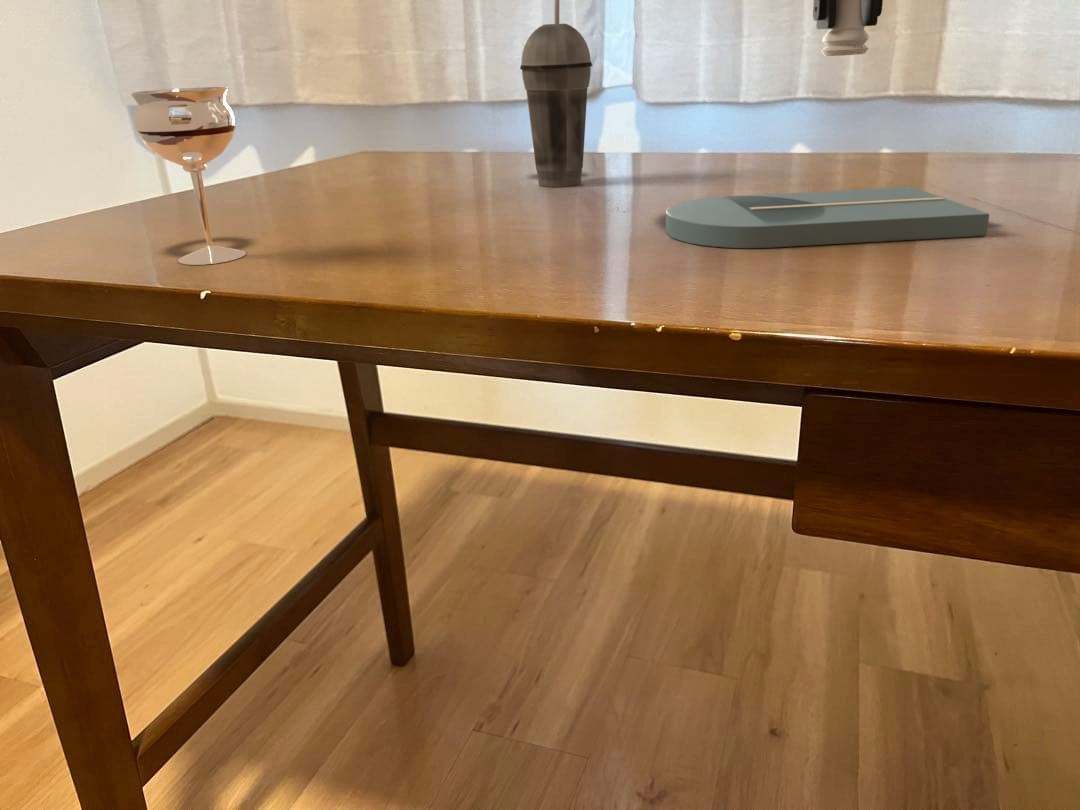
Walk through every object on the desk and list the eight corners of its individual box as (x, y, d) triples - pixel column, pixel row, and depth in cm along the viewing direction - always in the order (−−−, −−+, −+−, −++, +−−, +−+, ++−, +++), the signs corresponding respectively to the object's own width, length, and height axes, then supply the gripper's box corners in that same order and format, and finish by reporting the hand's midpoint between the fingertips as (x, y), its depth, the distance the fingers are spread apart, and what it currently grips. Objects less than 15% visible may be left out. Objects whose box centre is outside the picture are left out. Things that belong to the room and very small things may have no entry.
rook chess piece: (813, 56, 86) (818, -33, 83) (856, 53, 87) (863, -36, 84) (831, 56, 82) (837, -37, 79) (876, 53, 83) (883, -40, 79)
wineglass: (198, 245, 69) (166, 88, 65) (274, 246, 68) (247, 85, 63) (145, 267, 63) (106, 95, 58) (227, 268, 62) (194, 92, 57)
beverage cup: (515, 188, 89) (504, -27, 81) (538, 177, 95) (530, -24, 87) (583, 189, 86) (578, -32, 78) (602, 178, 93) (599, -29, 85)
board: (909, 205, 73) (912, 185, 72) (986, 236, 62) (990, 212, 61) (652, 219, 72) (653, 199, 71) (684, 252, 61) (684, 228, 60)
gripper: (783, -203, 73) (774, 32, 80) (974, -214, 73) (948, 20, 80) (758, -181, 80) (751, 33, 87) (932, -192, 80) (911, 23, 87)
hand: (846, 25), depth 83 cm, fingers closed on rook chess piece, 3 cm apart
